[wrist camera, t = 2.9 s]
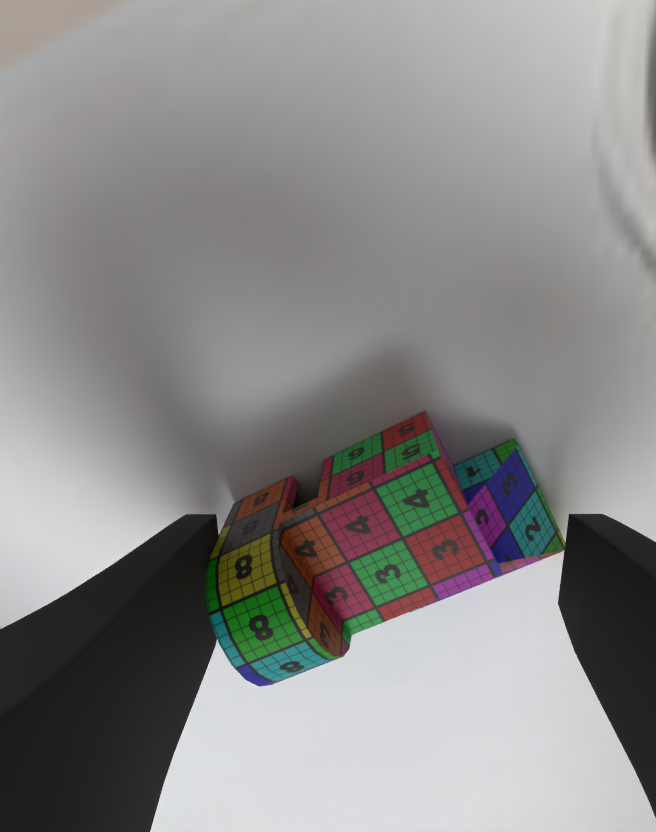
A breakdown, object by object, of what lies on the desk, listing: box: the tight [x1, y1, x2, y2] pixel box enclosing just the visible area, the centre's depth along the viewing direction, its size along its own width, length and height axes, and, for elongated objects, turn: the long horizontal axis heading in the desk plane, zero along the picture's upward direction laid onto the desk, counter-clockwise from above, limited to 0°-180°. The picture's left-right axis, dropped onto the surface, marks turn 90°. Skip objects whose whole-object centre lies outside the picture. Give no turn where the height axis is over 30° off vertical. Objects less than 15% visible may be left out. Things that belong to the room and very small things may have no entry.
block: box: [205, 411, 565, 686], centre depth 10 cm, size 6×4×3 cm
